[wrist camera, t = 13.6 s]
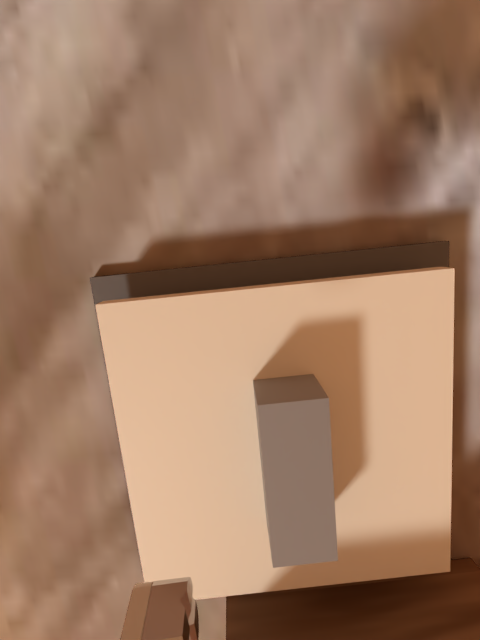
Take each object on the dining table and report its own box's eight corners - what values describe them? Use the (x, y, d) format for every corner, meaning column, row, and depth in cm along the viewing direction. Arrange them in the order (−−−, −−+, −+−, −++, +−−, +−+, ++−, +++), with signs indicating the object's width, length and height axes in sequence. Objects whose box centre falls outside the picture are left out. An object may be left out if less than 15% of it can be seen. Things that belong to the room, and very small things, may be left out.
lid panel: (110, 297, 20) (68, 316, 15) (428, 265, 20) (498, 273, 15) (156, 568, 24) (135, 663, 18) (428, 539, 24) (485, 623, 18)
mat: (93, 276, 21) (89, 277, 20) (442, 241, 21) (449, 241, 20) (145, 573, 24) (143, 582, 24) (440, 541, 25) (445, 548, 24)
